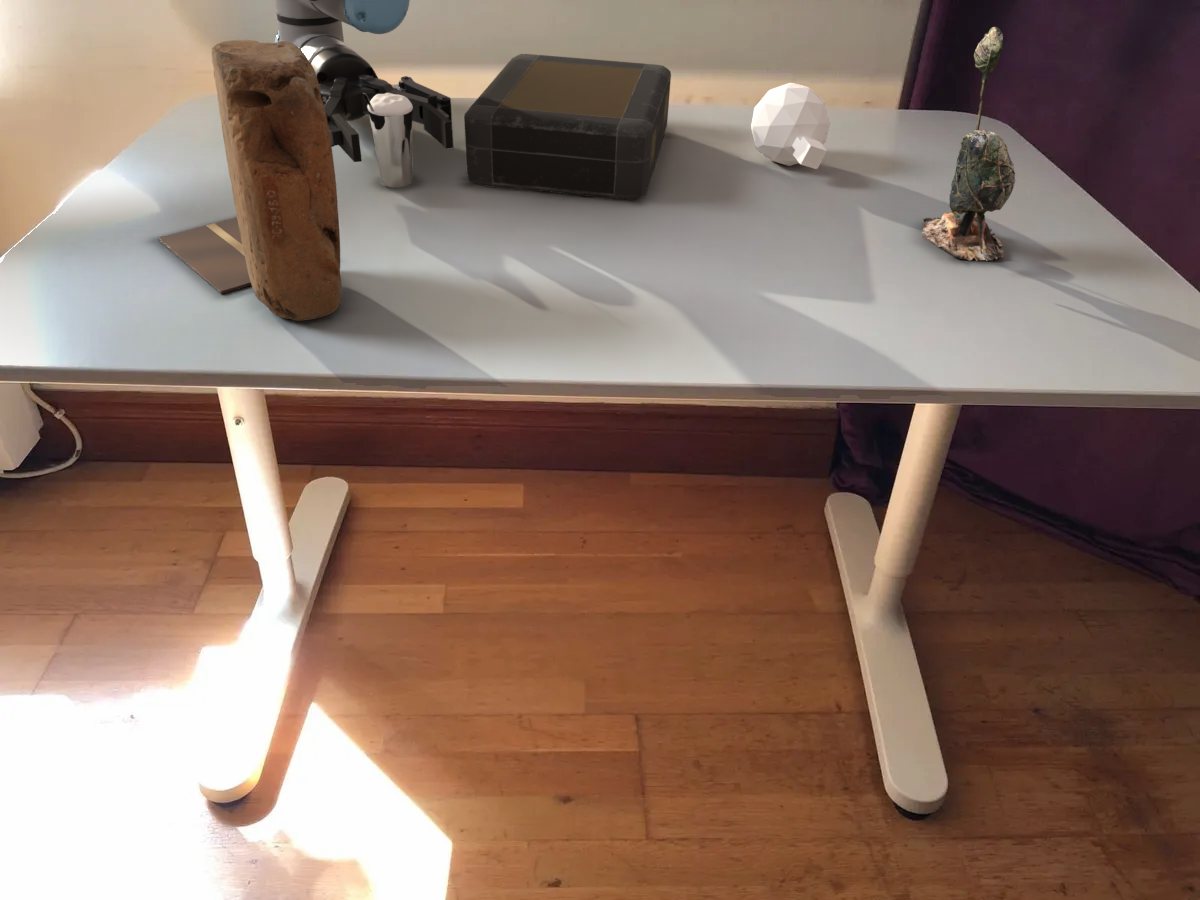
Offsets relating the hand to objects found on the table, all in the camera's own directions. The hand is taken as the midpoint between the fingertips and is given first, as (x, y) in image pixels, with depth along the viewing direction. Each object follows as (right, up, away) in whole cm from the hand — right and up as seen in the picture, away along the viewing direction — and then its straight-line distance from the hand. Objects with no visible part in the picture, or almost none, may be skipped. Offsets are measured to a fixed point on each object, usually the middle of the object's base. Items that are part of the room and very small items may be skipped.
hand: (403, 141), depth 96 cm
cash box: (+16, +3, +16) cm, 23 cm away
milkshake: (-2, -2, +7) cm, 8 cm away
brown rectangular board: (-13, -13, -8) cm, 20 cm away
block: (-6, -18, -14) cm, 24 cm away
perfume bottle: (+41, +2, +16) cm, 44 cm away
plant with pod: (+56, -11, 0) cm, 57 cm away
